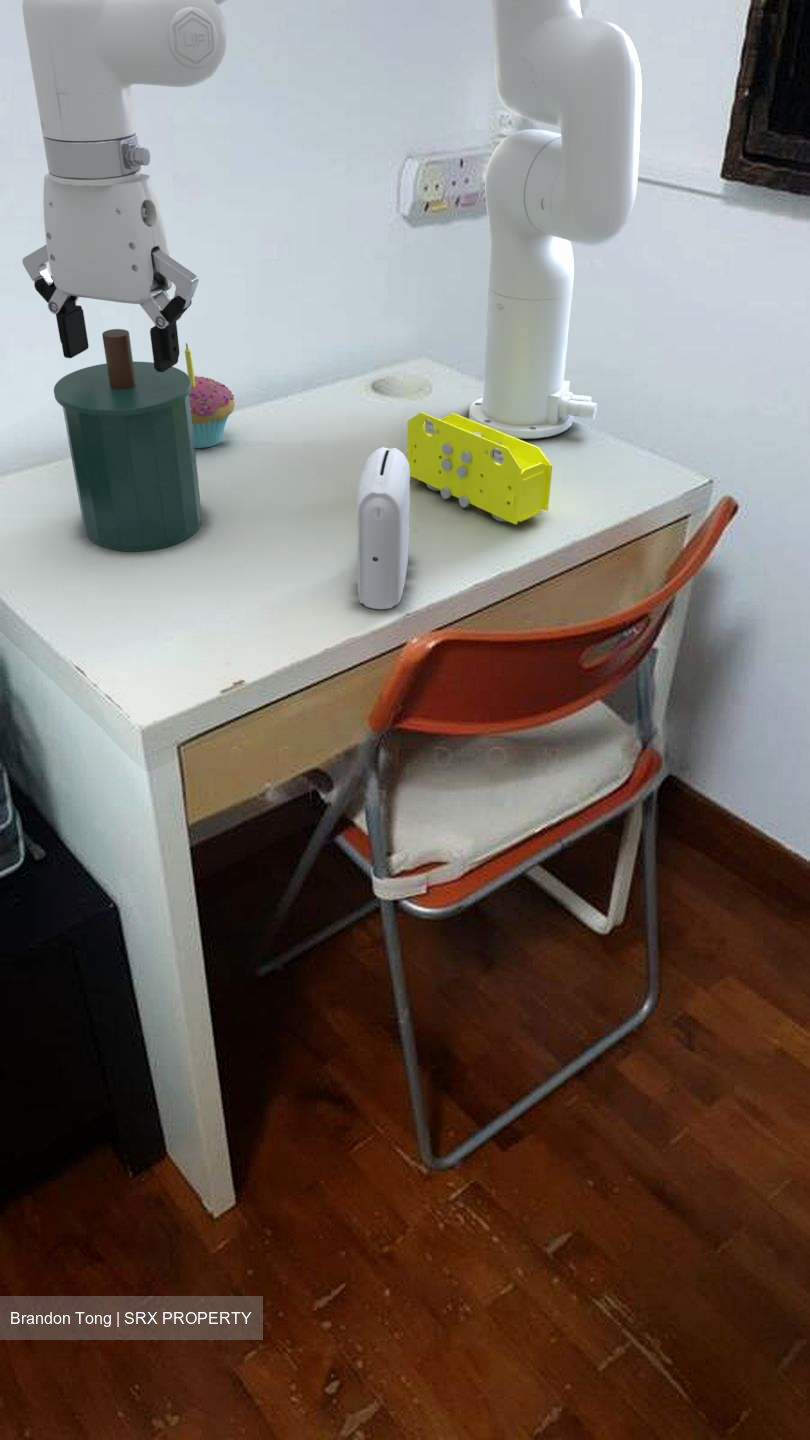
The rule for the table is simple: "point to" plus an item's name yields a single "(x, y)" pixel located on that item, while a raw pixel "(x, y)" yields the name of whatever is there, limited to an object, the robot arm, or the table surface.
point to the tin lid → (121, 383)
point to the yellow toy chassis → (479, 466)
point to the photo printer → (383, 528)
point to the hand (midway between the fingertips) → (121, 360)
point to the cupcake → (207, 407)
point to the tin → (136, 477)
